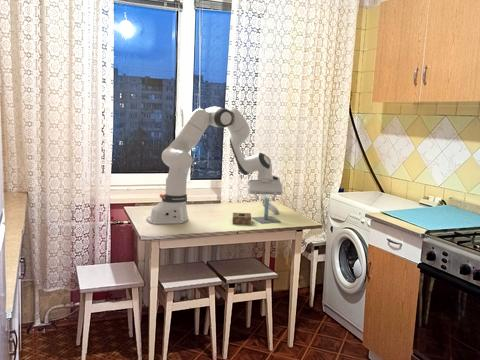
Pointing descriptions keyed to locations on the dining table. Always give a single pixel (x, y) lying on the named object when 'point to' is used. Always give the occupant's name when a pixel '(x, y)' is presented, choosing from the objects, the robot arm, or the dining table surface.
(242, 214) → the slot holder
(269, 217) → the rubber mat
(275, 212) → the wrench
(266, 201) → the scraper tool
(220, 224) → the dining table surface
